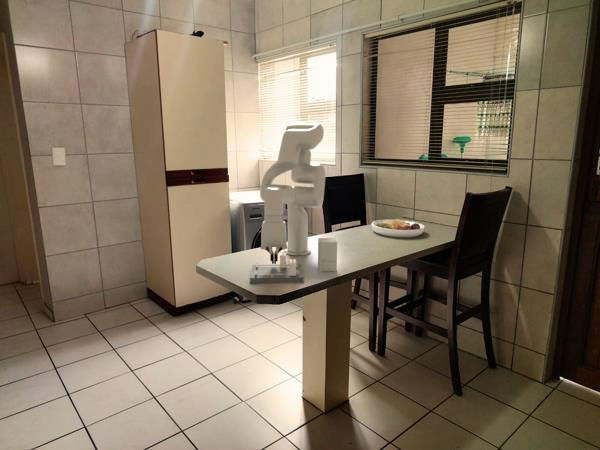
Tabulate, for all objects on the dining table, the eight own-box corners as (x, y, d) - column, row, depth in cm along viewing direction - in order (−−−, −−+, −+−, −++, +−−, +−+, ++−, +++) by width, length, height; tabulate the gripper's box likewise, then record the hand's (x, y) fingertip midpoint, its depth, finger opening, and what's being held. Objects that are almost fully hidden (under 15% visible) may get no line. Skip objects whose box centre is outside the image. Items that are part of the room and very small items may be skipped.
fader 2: (289, 271, 157) (289, 258, 156) (295, 271, 157) (295, 258, 156) (289, 275, 152) (289, 262, 151) (296, 275, 152) (296, 262, 151)
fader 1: (279, 264, 165) (280, 252, 164) (285, 264, 166) (285, 252, 164) (280, 268, 161) (280, 255, 160) (286, 268, 161) (286, 255, 160)
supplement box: (334, 266, 172) (335, 237, 169) (336, 271, 165) (337, 242, 162) (317, 266, 172) (318, 237, 169) (318, 271, 164) (319, 241, 162)
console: (252, 269, 166) (252, 262, 166) (300, 269, 168) (300, 262, 167) (250, 283, 151) (250, 275, 150) (303, 282, 152) (303, 274, 151)
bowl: (360, 232, 237) (361, 218, 235) (390, 225, 256) (391, 213, 255) (404, 241, 215) (405, 227, 213) (433, 233, 235) (434, 220, 233)
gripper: (292, 216, 163) (292, 260, 167) (255, 216, 162) (256, 260, 166) (293, 220, 156) (292, 265, 159) (254, 220, 155) (255, 265, 159)
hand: (274, 262), depth 163 cm, fingers closed
